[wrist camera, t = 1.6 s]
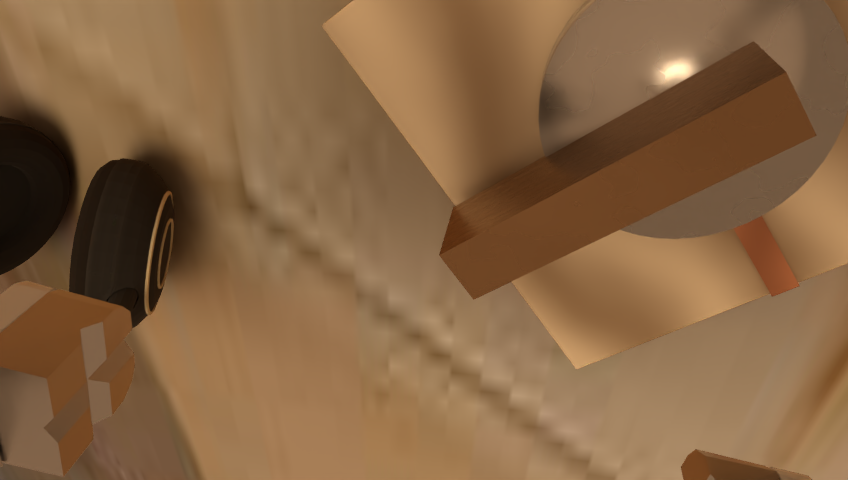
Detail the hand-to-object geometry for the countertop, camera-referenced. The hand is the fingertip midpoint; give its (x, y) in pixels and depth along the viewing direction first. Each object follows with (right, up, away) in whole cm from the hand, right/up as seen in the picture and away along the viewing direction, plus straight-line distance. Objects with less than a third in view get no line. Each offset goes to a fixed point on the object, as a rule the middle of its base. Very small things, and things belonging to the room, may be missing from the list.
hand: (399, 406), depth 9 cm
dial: (+9, +7, +17) cm, 20 cm away
